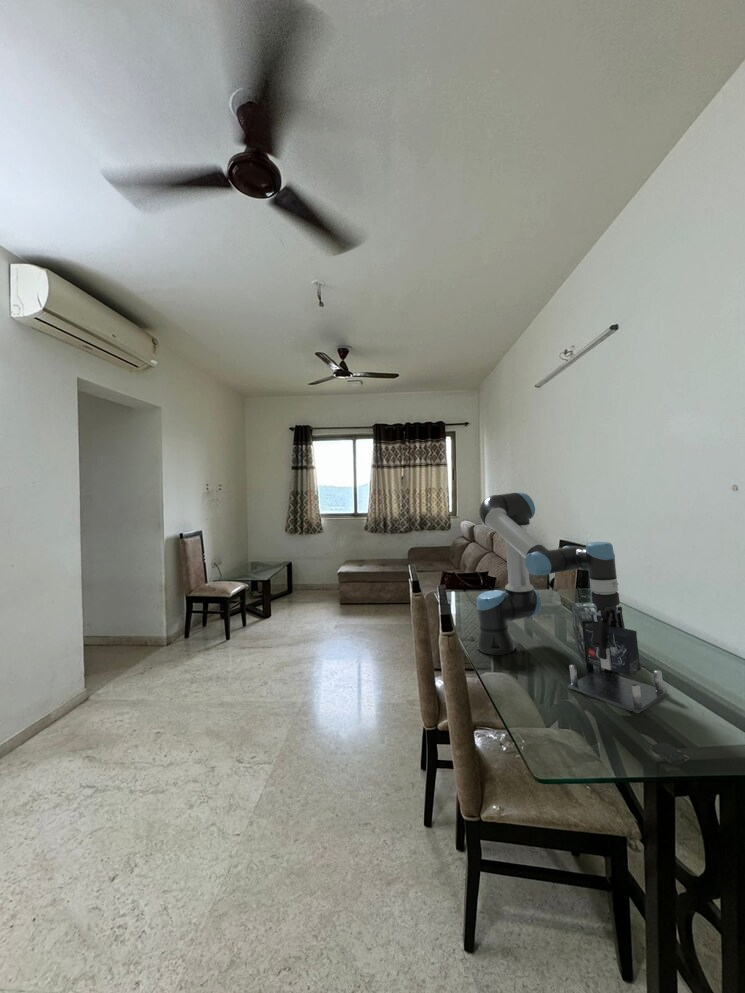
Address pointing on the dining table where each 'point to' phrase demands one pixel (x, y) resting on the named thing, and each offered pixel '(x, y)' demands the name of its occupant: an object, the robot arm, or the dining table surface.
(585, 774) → the dining table surface
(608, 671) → the box
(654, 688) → the chassis
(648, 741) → the dining table surface
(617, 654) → the small box
